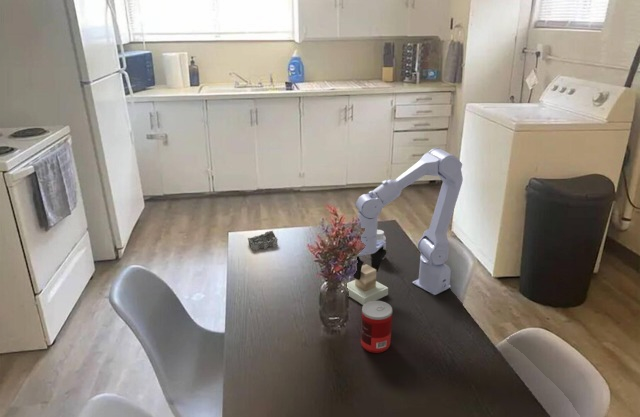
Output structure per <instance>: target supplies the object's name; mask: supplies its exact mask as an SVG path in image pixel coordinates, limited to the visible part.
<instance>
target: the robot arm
mask: <svg viewBox="0 0 640 417" xmlns="http://www.w3.org/2000/svg"><path fill="white" fill-rule="evenodd" d="M462 168H463V163H462V162H461V161H460V159H459V158H458V157H457V156H456V155H454V154H451V153H449V152H448V151H445V150H444V149H443V148H440V147H435V148H432V149H430V150H428V152H426V153H424V154H423V155H422V157H421V158H420V159H419V160H418V161H417V162H416V163H414V164H413V165H412V166H410V167H409V168H408V169H407V170H405V171H404V172H403V173H401V174H400V175H399V176H398V177H396V178H395V179H387V180H386V179H384V180H383V181H381V184H380V185H378V186H377V187H376V188H374V189H373V190H369V191H368V193H363V194H362V195H360V196H359V197H358V198H357V200H356V202H355V203H354V204H355V207H356V210H358V213H357V214H358V216H357V217H358V218H359V219H360V222H361V228H365V231H364V232H363V234H362V235H361V241H362V243H364V244H365V245H366V246H365V248H364V249H363V250H362V251H361V252H360V253H359V254H358V255H357V260H358V263H357V271H356V273H355V274H354V275H352V276H353V278H354V279H355V278H356V279H357V280H359V279H360V277H361V268H362V266H363V265H364V261H363V260H361V257H362V256H367V255H368V256H369V254H371V258H370V260H371V265H370V266H371V267H372V268H374V269H376V273H378V272H379V269H380V265H381V264H382V261H383V260H384V259H385V258H384V256H385V257H386V255H387V250H386V248H387V241H386V242H385V241H383V240H380V241H377V230H378V223H379V222H378V217H379V215H380V214H381V213H382V210H383V209H384V207H385V206H387V205H389V204H391V202H393V201H394V200H396V199H397V198H398V197H400V196H401V194H402V191H403V189H405V188H406V187H408V186H409V185H411V184H413V183H415V182H416V181H418V180H419V179H422V178H423V177H425V176H435V177H436V176H437V177H439V178H440V180H441V181H442V184H441V187H440V191H439V193H438V196H437V201H436V202H435V203H436V204H435V207H434V211H433V214H432V217H431V221H430V224H429V228H428V229H426V230H424V231H423V234H422V237H421V238H420V239H419V240H418V242H417V249H418V250H419V252H420V257H419V259H420V260H419V270H418V271H419V272H418V278H417V279H416V280H413V281H412V285H415V286H416V287H418V288H420V289H422V290H424V291H425V292H428V293H430V294H432V295H433V296H436V295H438V294H440V293H443V292H444V291H447V290H448V289H450V288H451V274H452V270H451V267H450V266H449V265H447V264H446V263H445V262H447V260H448V259H449V255H450V254H449V245H450V242H449V239H448V235H447V233H448V231H449V227H450V224H451V220H452V217H453V214H454V212H455V207H456V204H457V200H458V197H459V194H460V191H461V187H462V184H463V180H464V179H463V172H462ZM358 218H357V219H358ZM383 248H385V250H384V249H383ZM383 258H384V259H383ZM382 259H383V260H382Z"/></svg>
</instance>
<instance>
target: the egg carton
mask: <svg viewBox="0 0 640 417" xmlns="http://www.w3.org/2000/svg"><path fill="white" fill-rule="evenodd" d="M247 240H248V246H249V247H250V250H255V251H258V250H259V249H267V248H268V247H273V248H275V247H277V245H278V241H279V239H278V238H277V237H276V234H275V232H274V230H270V231H266V232H264V233H263V234H262V233H261V234H259V235H255V236H253V237H247Z"/></svg>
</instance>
